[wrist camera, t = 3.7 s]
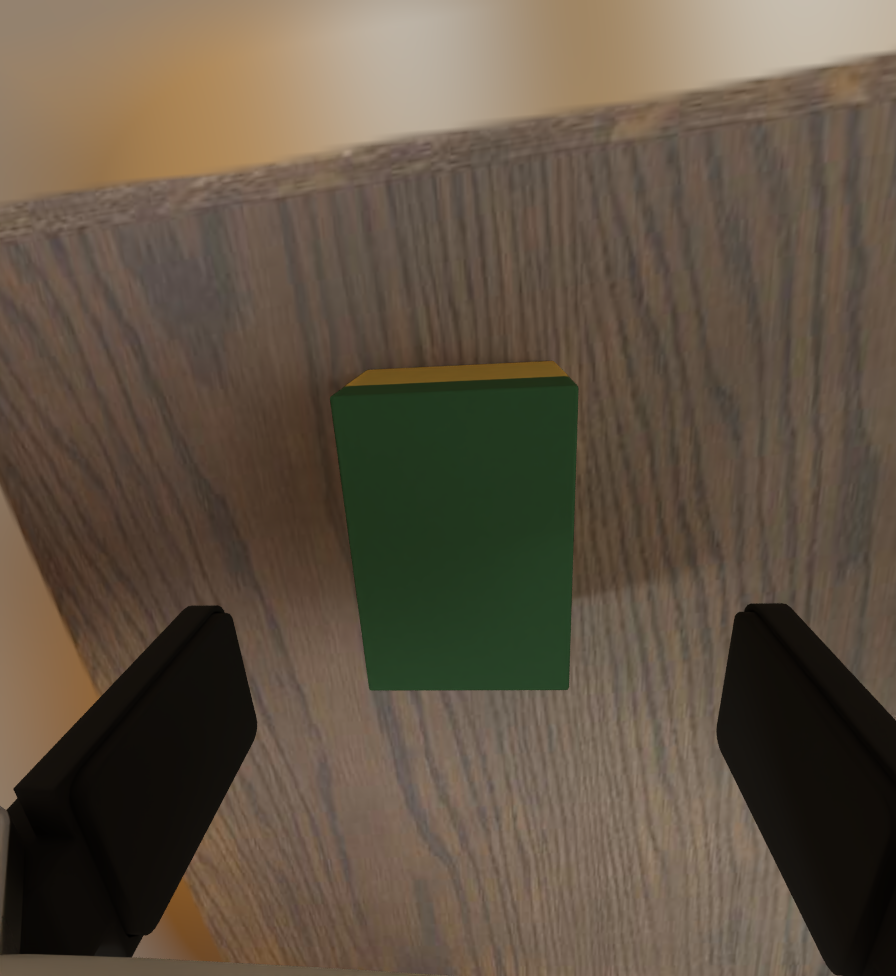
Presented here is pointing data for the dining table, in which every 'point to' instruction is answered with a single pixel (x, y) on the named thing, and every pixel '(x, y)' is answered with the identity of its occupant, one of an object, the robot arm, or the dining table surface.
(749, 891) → the dining table surface
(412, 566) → the scrubber
